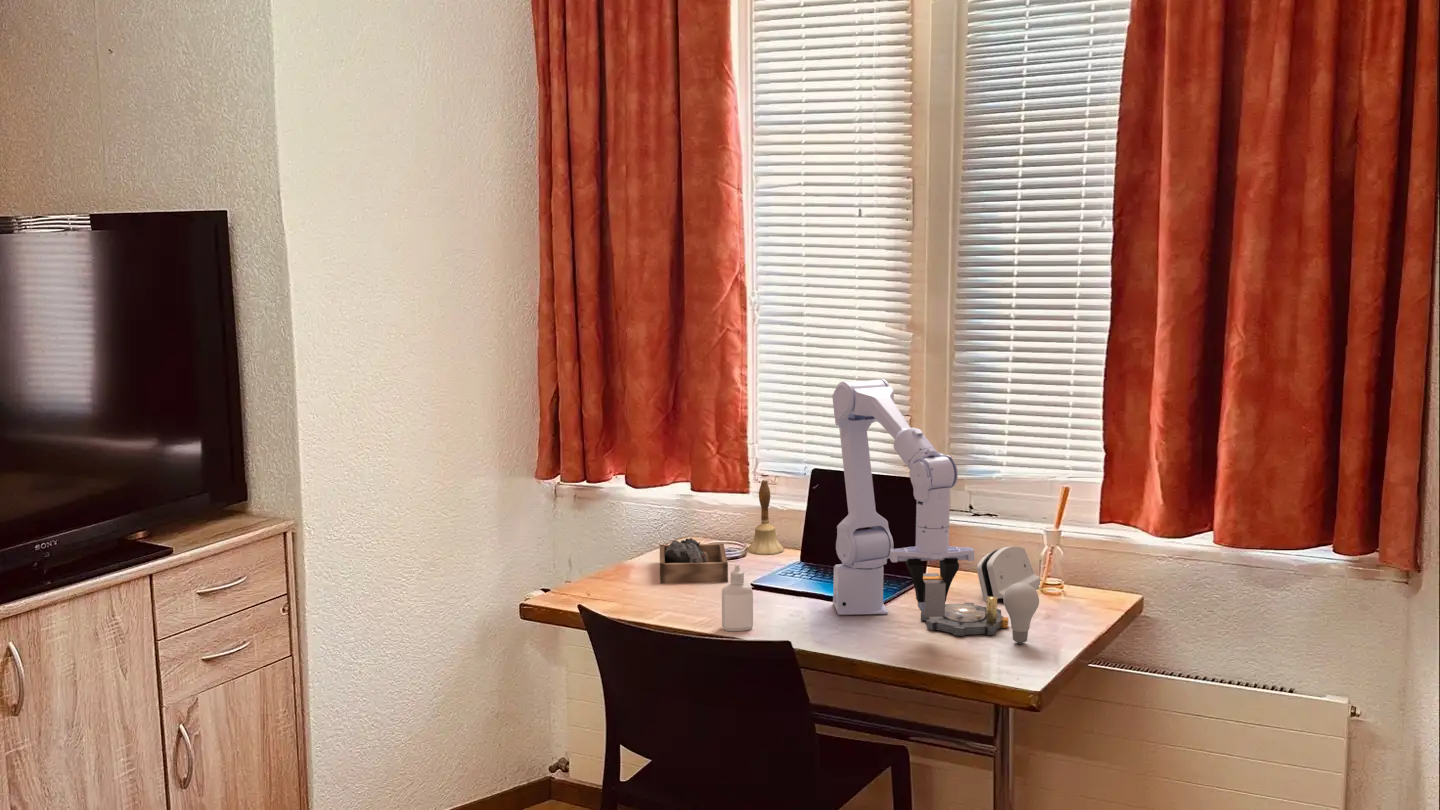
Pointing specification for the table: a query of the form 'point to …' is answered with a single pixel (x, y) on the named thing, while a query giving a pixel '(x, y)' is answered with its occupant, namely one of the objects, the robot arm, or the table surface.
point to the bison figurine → (685, 552)
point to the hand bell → (765, 528)
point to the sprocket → (960, 629)
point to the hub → (964, 613)
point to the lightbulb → (1020, 608)
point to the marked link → (933, 595)
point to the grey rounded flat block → (1005, 571)
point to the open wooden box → (696, 567)
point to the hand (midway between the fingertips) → (930, 600)
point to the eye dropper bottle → (737, 603)
